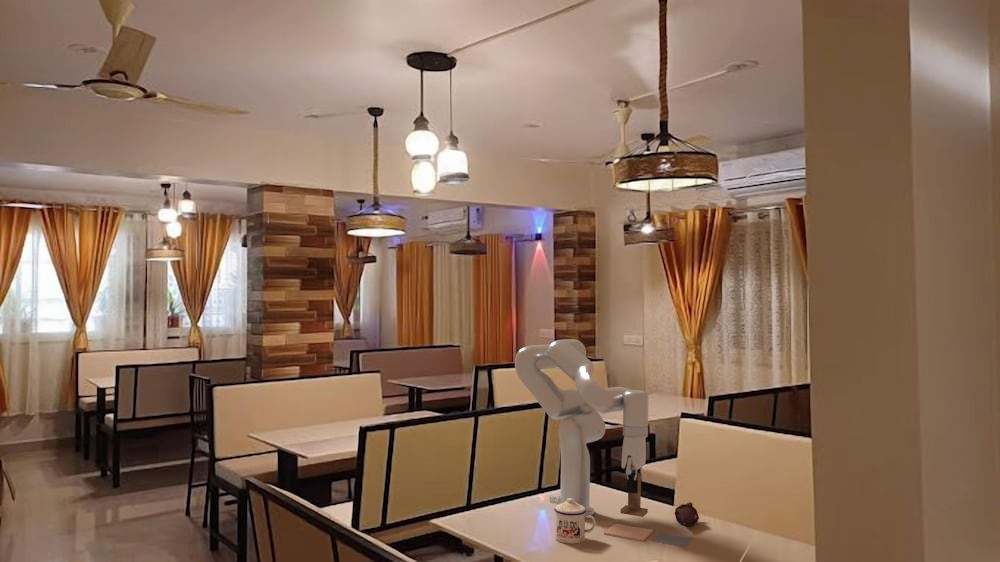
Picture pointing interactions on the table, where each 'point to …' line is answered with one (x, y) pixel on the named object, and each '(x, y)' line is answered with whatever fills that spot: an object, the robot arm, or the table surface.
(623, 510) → the wooden post with base
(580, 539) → the teacup with lid
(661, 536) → the mat
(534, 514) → the table surface
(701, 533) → the table surface
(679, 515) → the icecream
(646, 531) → the tile
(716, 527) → the table surface
